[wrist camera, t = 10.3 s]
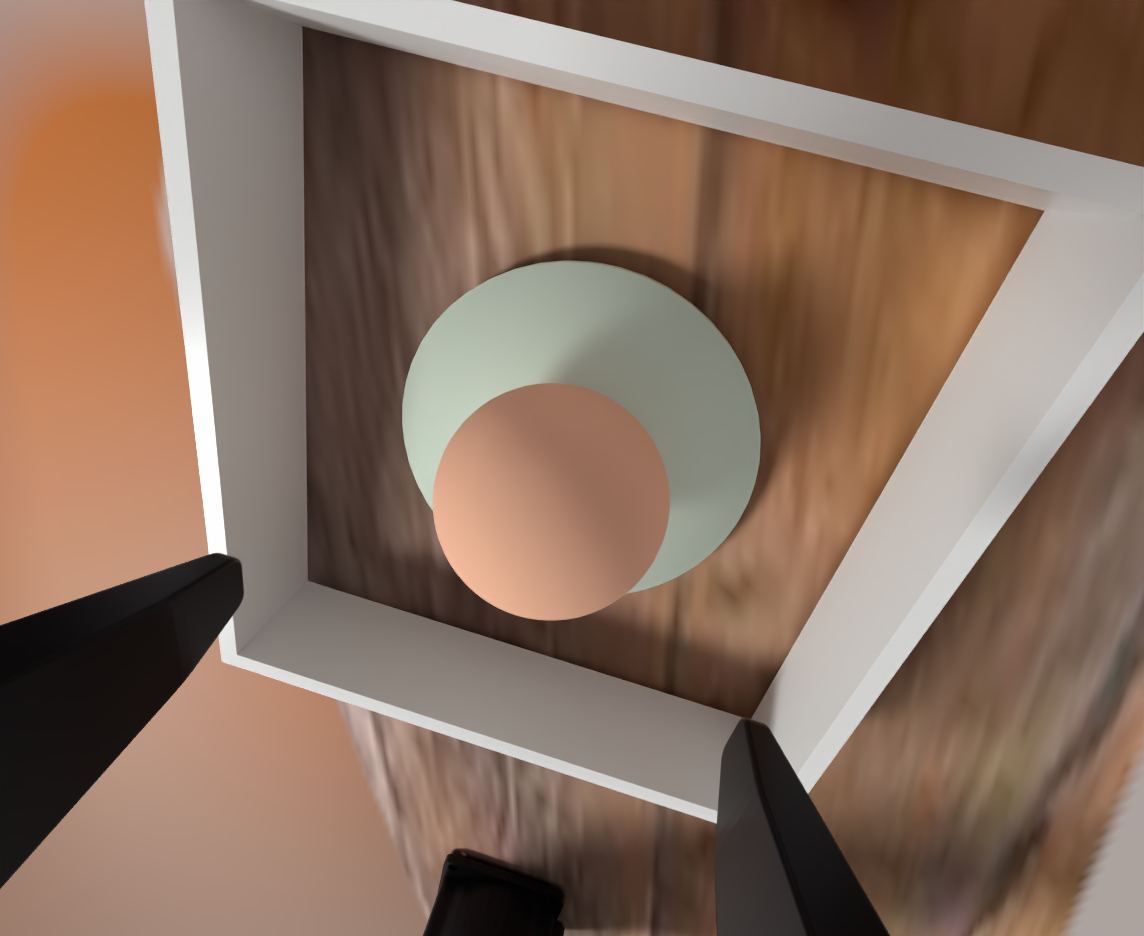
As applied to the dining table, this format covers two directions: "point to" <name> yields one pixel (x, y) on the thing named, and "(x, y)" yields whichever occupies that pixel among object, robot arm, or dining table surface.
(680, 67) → the walled pen
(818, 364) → the dining table surface
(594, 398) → the ball
